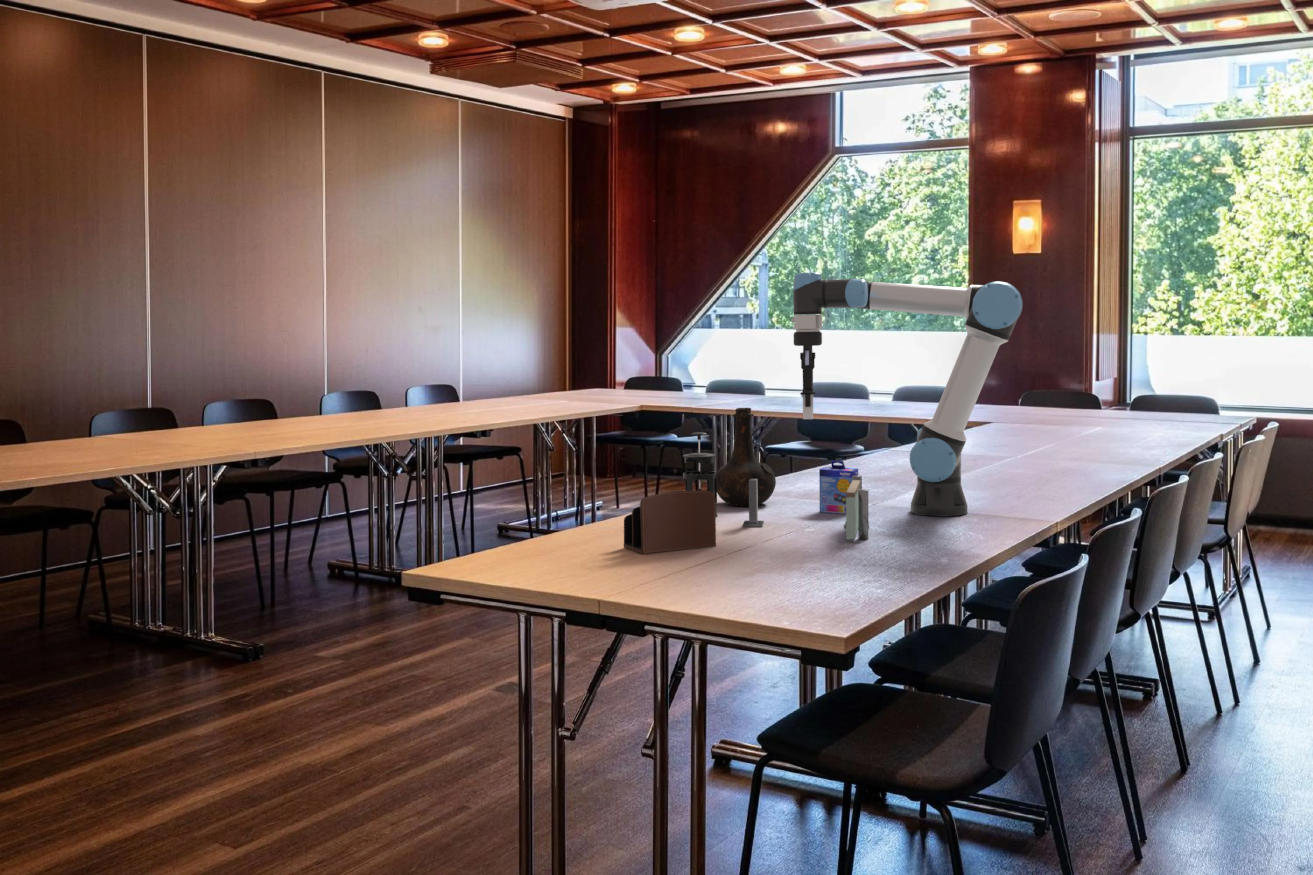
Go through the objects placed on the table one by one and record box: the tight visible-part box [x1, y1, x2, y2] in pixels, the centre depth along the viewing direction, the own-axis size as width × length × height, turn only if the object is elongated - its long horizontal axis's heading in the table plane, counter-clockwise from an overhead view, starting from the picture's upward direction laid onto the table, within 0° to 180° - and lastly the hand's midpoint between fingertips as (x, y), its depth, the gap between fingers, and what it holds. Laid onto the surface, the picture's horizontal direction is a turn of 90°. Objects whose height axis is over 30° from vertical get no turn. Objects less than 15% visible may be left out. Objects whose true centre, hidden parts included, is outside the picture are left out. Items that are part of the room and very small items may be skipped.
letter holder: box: [623, 489, 717, 556], centre depth 293 cm, size 10×20×14 cm, turn 118°
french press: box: [682, 431, 718, 518], centre depth 337 cm, size 12×9×23 cm
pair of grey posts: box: [742, 475, 870, 541], centre depth 311 cm, size 32×22×13 cm
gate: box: [845, 480, 861, 540], centre depth 304 cm, size 22×2×11 cm, turn 167°
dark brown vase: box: [716, 407, 777, 507], centre depth 357 cm, size 18×18×28 cm
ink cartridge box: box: [818, 460, 859, 515], centre depth 340 cm, size 10×6×14 cm, turn 64°
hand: (808, 418), depth 333 cm, fingers closed
